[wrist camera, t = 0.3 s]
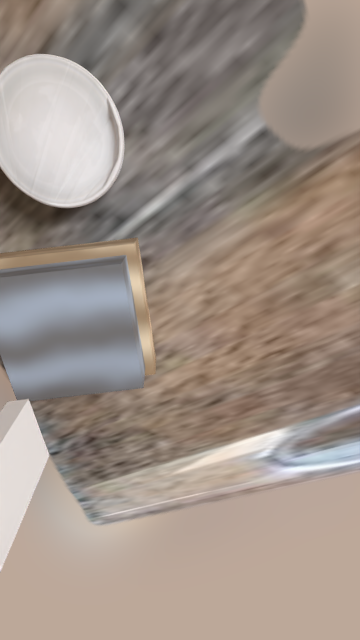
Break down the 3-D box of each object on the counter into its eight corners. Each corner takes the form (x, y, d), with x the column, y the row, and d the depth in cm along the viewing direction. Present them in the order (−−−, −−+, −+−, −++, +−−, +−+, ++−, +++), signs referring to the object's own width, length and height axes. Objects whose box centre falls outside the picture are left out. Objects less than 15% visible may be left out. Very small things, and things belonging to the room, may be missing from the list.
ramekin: (130, 208, 34) (124, 211, 29) (21, 202, 33) (-3, 205, 28) (128, 80, 30) (122, 59, 25) (4, 70, 29) (-29, 46, 24)
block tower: (0, 253, 35) (-43, 270, 27) (137, 237, 35) (130, 251, 27) (38, 370, 41) (11, 411, 33) (155, 357, 41) (154, 394, 33)
